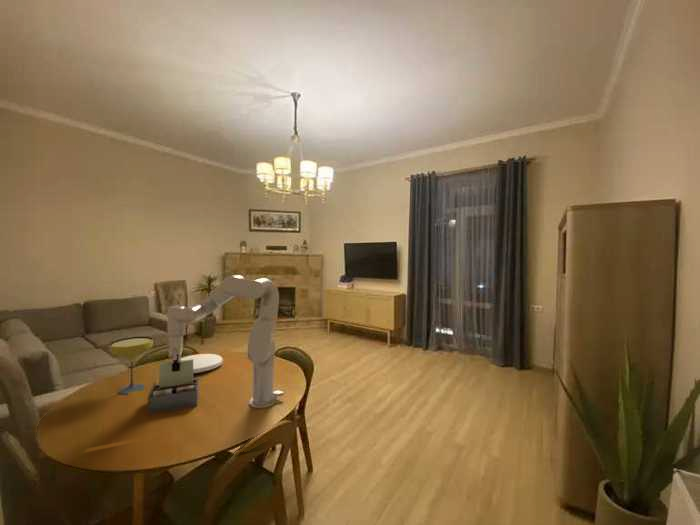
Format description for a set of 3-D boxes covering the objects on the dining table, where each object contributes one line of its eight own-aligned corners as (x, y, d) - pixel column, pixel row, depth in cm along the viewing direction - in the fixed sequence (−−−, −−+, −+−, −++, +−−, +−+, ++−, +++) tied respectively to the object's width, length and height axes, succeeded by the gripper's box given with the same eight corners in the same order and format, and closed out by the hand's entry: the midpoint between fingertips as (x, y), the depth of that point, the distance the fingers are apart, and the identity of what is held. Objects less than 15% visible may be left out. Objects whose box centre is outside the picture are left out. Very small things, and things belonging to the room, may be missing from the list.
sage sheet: (193, 394, 142) (193, 358, 142) (192, 396, 141) (193, 359, 140) (159, 400, 136) (159, 363, 135) (159, 402, 134) (159, 364, 134)
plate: (196, 350, 195) (231, 354, 189) (196, 360, 194) (231, 364, 189) (162, 361, 167) (202, 366, 162) (161, 372, 167) (201, 377, 161)
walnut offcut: (194, 401, 136) (194, 384, 136) (193, 404, 133) (193, 387, 133) (177, 404, 133) (177, 387, 133) (176, 407, 130) (176, 390, 130)
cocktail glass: (144, 395, 142) (145, 345, 141) (101, 400, 137) (101, 348, 136) (158, 380, 159) (158, 335, 159) (119, 383, 154) (119, 337, 154)
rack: (198, 394, 145) (198, 376, 145) (197, 407, 132) (197, 388, 132) (153, 401, 137) (153, 383, 136) (147, 416, 124) (147, 396, 124)
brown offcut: (172, 405, 132) (172, 388, 132) (171, 408, 129) (171, 391, 129) (153, 408, 129) (153, 390, 129) (152, 411, 126) (152, 393, 126)
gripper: (169, 328, 143) (169, 364, 144) (164, 337, 128) (164, 377, 129) (187, 327, 146) (186, 362, 147) (184, 335, 132) (183, 375, 132)
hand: (176, 369), depth 138 cm, fingers open, 3 cm apart
